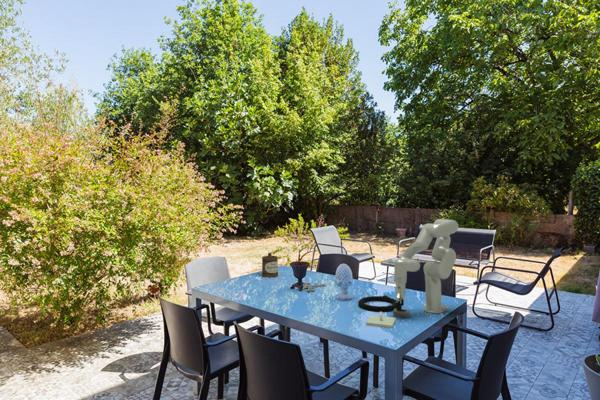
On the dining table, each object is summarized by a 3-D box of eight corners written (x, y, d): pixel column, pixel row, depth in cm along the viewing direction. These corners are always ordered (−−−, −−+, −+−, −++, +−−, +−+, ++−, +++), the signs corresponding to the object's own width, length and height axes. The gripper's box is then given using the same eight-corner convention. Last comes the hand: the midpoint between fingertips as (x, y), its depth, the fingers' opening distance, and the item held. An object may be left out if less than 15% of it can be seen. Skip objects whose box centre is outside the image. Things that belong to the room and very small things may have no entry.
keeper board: (395, 320, 225) (395, 309, 225) (392, 328, 212) (392, 316, 212) (371, 317, 230) (370, 307, 230) (366, 325, 217) (365, 314, 217)
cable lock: (351, 303, 249) (367, 292, 275) (351, 309, 249) (367, 297, 275) (392, 309, 235) (405, 297, 261) (392, 315, 235) (405, 302, 261)
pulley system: (295, 292, 298) (312, 293, 290) (295, 286, 298) (312, 287, 290) (312, 285, 321) (328, 286, 313) (312, 280, 321) (328, 281, 314)
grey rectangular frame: (409, 315, 233) (409, 309, 233) (408, 318, 228) (408, 312, 228) (394, 313, 237) (394, 308, 237) (393, 316, 231) (393, 311, 231)
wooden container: (267, 278, 343) (266, 254, 342) (259, 275, 355) (259, 252, 355) (280, 276, 351) (280, 252, 350) (273, 273, 363) (272, 251, 363)
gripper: (404, 283, 222) (404, 311, 222) (408, 277, 238) (407, 304, 238) (392, 281, 225) (391, 310, 225) (396, 276, 241) (395, 303, 241)
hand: (399, 307), depth 232 cm, fingers open, 9 cm apart
